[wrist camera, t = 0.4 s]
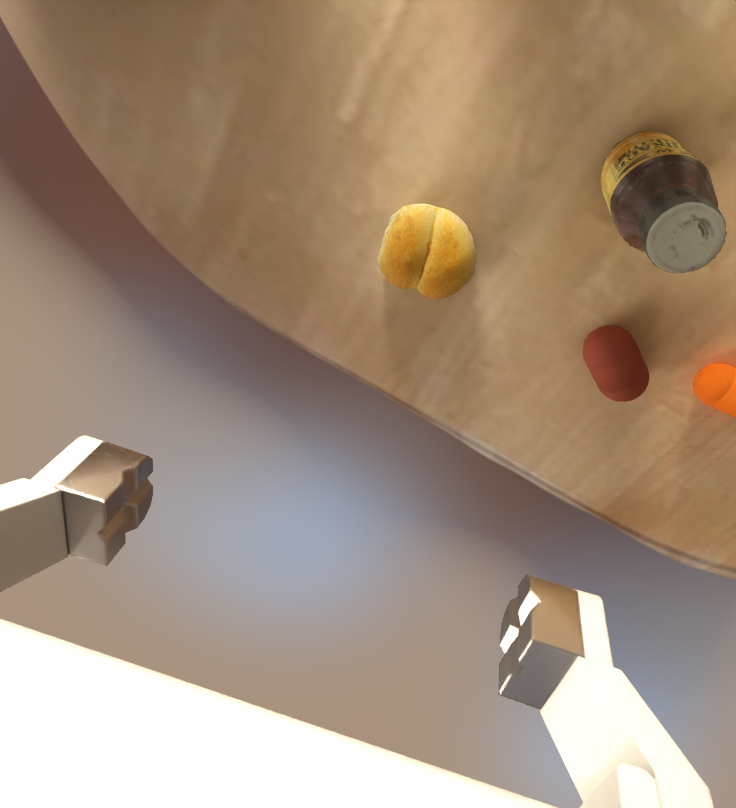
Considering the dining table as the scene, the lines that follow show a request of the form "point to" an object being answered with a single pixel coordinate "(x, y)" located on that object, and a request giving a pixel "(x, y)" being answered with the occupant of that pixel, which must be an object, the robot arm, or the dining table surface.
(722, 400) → the carrot
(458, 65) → the dining table surface
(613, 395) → the sausage
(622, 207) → the sauce bottle
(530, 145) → the dining table surface
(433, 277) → the bread roll
